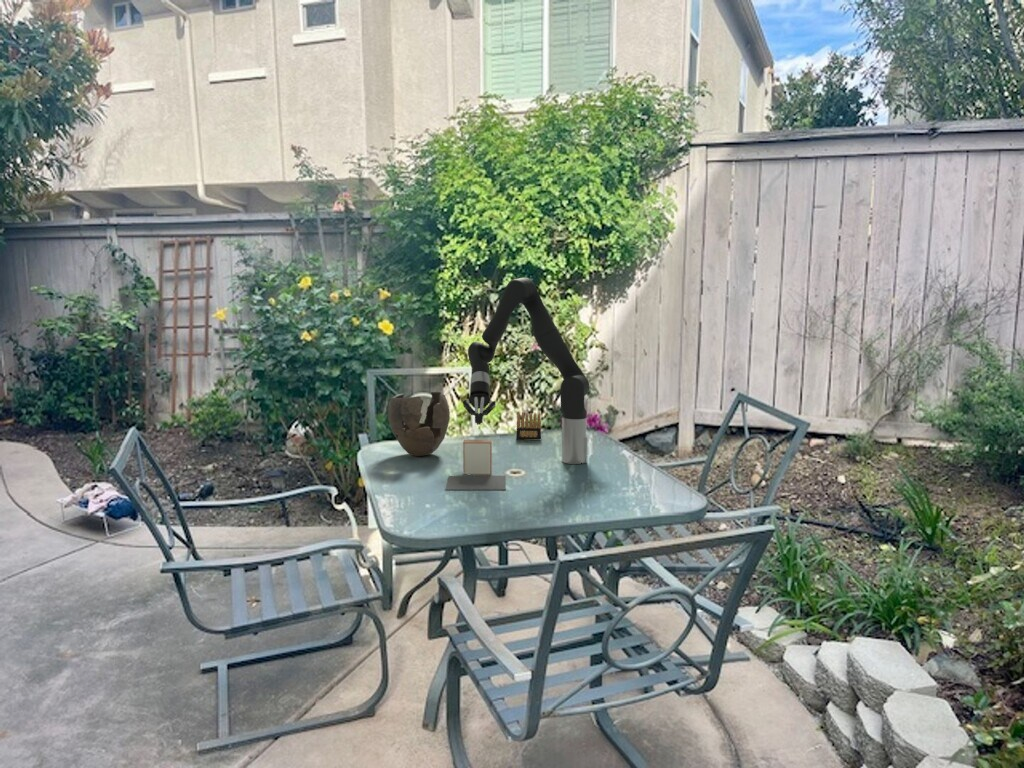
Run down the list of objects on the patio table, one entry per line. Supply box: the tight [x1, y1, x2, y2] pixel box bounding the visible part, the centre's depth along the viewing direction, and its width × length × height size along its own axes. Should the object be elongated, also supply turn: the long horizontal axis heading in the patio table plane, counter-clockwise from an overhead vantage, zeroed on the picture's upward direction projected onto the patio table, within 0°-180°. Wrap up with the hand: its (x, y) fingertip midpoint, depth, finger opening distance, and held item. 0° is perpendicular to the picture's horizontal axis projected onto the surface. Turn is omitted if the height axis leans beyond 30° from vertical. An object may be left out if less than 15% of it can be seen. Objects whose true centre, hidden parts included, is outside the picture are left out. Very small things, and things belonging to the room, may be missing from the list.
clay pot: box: [387, 391, 451, 457], centre depth 277 cm, size 24×24×25 cm
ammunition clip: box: [515, 411, 542, 441], centre depth 304 cm, size 11×2×12 cm, turn 87°
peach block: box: [462, 438, 493, 476], centre depth 253 cm, size 10×4×12 cm, turn 91°
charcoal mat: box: [444, 475, 507, 491], centre depth 242 cm, size 20×16×1 cm
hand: (478, 423), depth 263 cm, fingers closed
